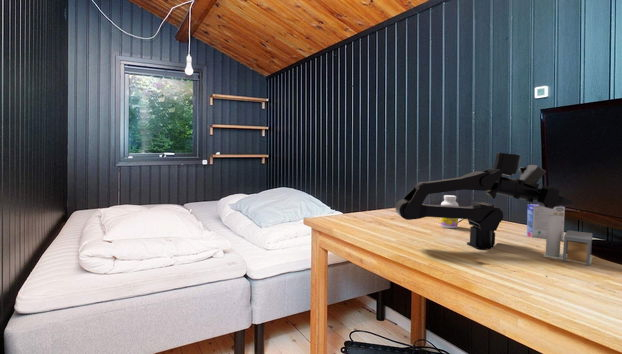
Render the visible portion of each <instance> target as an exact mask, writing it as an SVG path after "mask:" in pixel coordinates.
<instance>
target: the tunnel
mask: <svg viewBox="0 0 622 354" xmlns="http://www.w3.org/2000/svg"><path fill="white" fill-rule="evenodd" d="M593 235H594V234H593V233H592V232H586V231H585V232H584V231H583V232H582V231H576V230H569V229H568V230H567V231H566V232H565V233H564V238H563V249H562V251H563V252H562V254H563V260H562V262H565V263H566V261H567V260H566V255H567V251H568V241H576V242H583V243H588V244H587V259H586V264H585V266H587V267H590V264H589V262H590V255H592V246H593V245H592V244H593Z"/></svg>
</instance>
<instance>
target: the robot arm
mask: <svg viewBox="0 0 622 354" xmlns="http://www.w3.org/2000/svg"><path fill="white" fill-rule="evenodd" d="M521 158H522V156H521V155H519V154H515V153H504V152H496V155H495V160H494V164H493V166H492V167H493V168H486V169H484V170H482V171H472V172H470V173H467V174H464V175H462V176H458V177H455V178H454V177H452V178H447V179H439V180H431V181H430V180H429V181H418V182H417V183H416V184H415V186H414V187H413V188H412V189H411V190H410V191H408V193H407V194H406V195H405V196H403V198H402V199H400V200H399V201H397V202H396V204H395V207H394V209H395V211H396V213H397V214H398V215H399V216H400V217H401V219H402V218H403V219H404V220H405V221H412V220H413V221H414V220H420V219H423V218H439V219H440V218H455V219H458V220H459V219H460V220H467V221H468V225H469V226H470V227H469V228H470V229H469V242H466V245H469V246H471V247H473V248H476V249H477V250H491V249H492V248H494V247H495V244H496V232H495V231H498V227H499V225H500V223H501V222H502V221H503V218H504V213H503V211H502V209H501V208H499V207H497V206H495V205H496V204H492V203H489V202H485V201H481V202H476V201H472V205H470V206H445V205H441V204H429V203H428V204H425V203H424V202H425V199H426V198H427V196H429V195H432V194H433V195H434V194H440V193H446V192H447V193H448V192H455V191H456V192H457V191H462V190H469V191H481V192H483V191H485V194H486V195H487V197H488V198H490V199H494V200H496V198H497V197H496V196H497V195H501V196H502V195H503V196H505V197H509V198H514V199H517V200H523V201H527V202H530V203H533V202H534V201H536V202H537V204H539V205H540V206H543V207H546V208H550V209H553V208H554V207H558V206H567V205H573V199H570V198H568V197H566V196H565V195H562V194H560V188H558V187H554V186H550V185H549V186H548V185H544V186H542V187H541V188H539V187H540V183H538V182H539V181H540V179H542V177H543V176H544V175H545V174H546V172H547V171H546V170H545V169H543V168H542V167H540V166H538V165H536V164H529V165H527V166H520V167H519V165H520V163H521ZM517 173H519V176H520V177H519V178H516V177H515V178H511V177H512V176H513V175H516V174H517ZM503 175H504V176H503ZM507 176H508V177H507Z"/></svg>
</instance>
